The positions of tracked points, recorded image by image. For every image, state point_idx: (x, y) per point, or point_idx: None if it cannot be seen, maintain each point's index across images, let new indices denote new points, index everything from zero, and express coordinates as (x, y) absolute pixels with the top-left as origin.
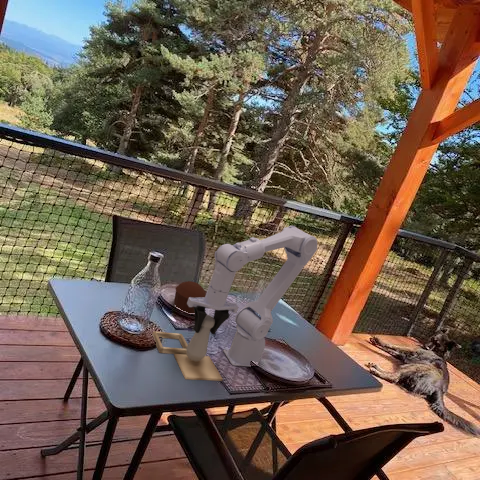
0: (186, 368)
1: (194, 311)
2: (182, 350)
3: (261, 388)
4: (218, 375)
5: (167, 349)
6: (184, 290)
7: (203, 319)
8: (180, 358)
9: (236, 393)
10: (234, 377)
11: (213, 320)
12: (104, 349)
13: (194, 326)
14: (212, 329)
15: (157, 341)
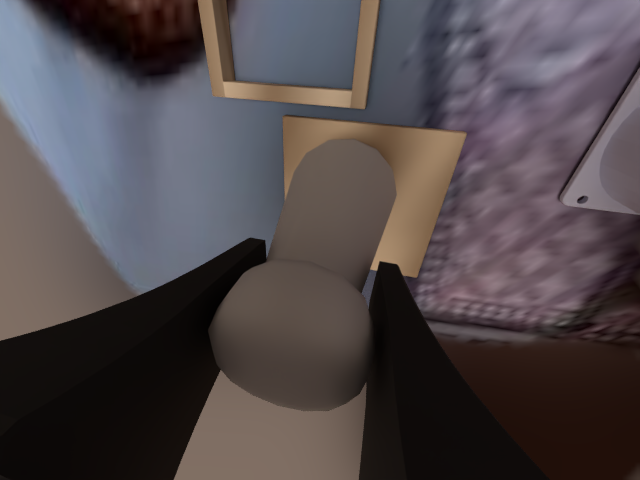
0: None
1: (85, 324)
2: (319, 104)
3: (551, 322)
4: (412, 261)
5: (245, 98)
6: None
7: (195, 412)
8: (300, 153)
9: (425, 319)
10: (487, 264)
11: (324, 409)
12: (36, 79)
13: (236, 247)
14: (370, 312)
15: (202, 13)
